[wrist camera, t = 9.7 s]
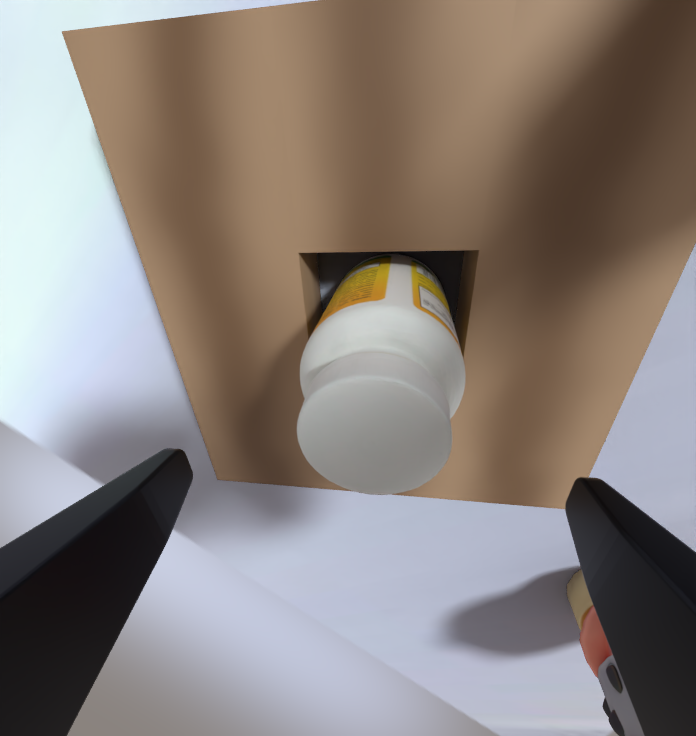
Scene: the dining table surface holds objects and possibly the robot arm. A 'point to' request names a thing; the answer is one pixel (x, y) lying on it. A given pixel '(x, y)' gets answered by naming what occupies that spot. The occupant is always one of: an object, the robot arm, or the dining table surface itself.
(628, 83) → the socket block
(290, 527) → the dining table surface
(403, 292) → the supplement bottle
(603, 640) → the cake
